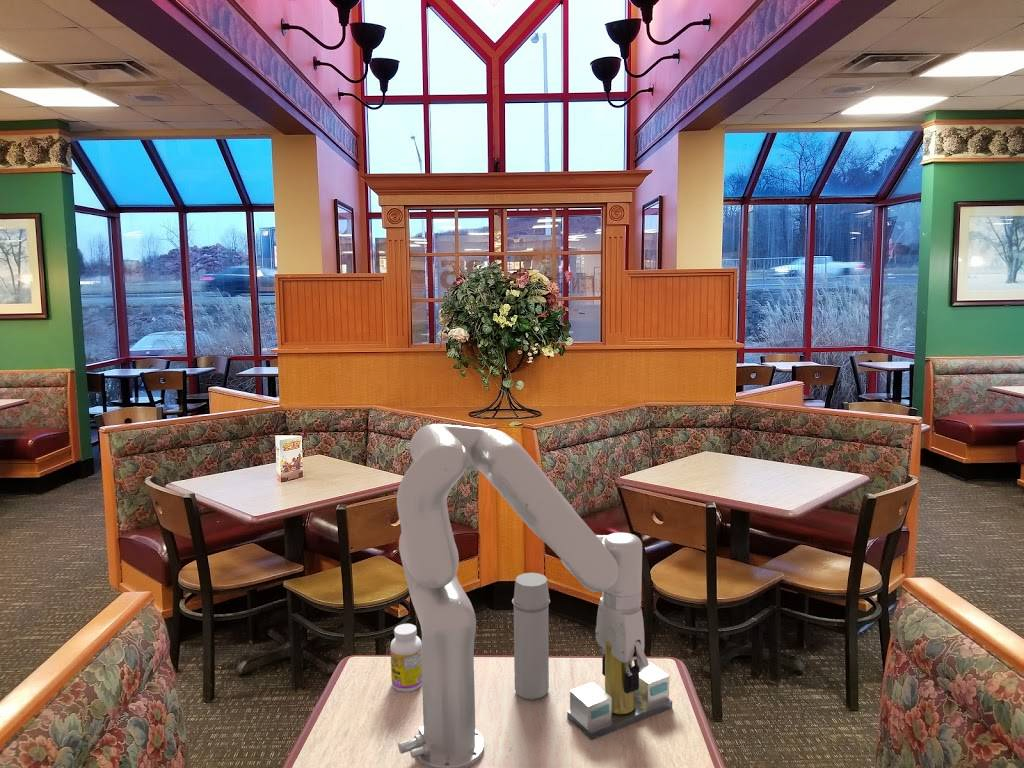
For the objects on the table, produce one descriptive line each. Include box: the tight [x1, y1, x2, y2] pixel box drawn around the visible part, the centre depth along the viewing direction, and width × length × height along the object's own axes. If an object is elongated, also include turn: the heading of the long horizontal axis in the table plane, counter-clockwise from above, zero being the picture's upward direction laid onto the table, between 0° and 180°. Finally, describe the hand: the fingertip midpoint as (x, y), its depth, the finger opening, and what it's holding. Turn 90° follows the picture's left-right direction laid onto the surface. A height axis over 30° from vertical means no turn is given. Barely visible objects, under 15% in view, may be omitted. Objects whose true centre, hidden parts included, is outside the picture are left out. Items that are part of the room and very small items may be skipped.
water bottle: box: [511, 572, 551, 700], centre depth 152 cm, size 9×8×25 cm
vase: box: [604, 641, 635, 714], centre depth 144 cm, size 6×6×14 cm
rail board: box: [566, 661, 673, 741], centre depth 145 cm, size 20×8×6 cm, turn 119°
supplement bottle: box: [389, 623, 422, 693], centre depth 156 cm, size 7×7×13 cm
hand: (620, 681), depth 145 cm, fingers open, 6 cm apart
